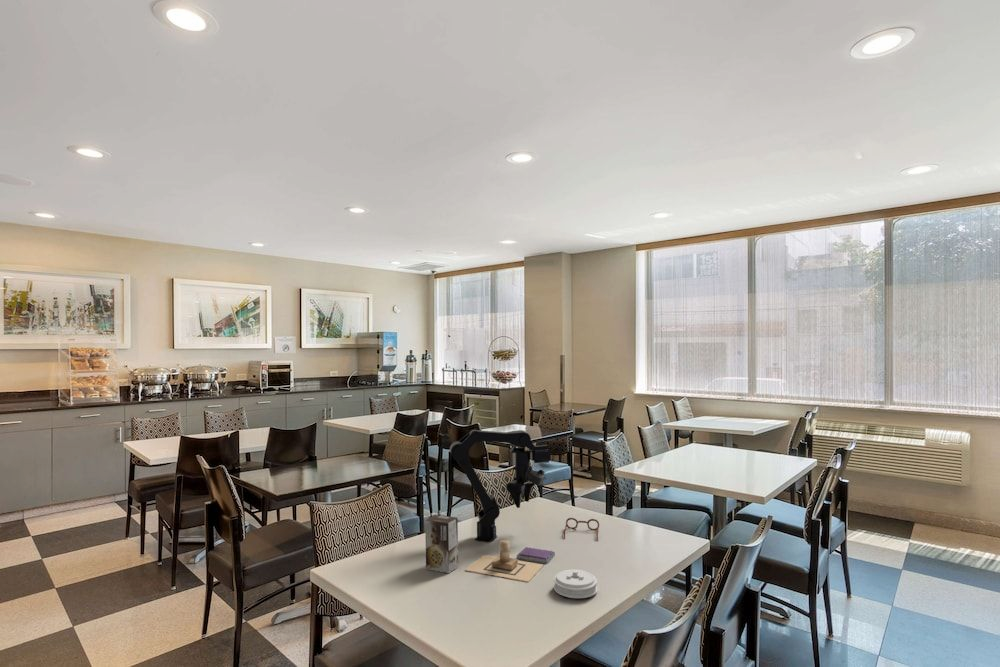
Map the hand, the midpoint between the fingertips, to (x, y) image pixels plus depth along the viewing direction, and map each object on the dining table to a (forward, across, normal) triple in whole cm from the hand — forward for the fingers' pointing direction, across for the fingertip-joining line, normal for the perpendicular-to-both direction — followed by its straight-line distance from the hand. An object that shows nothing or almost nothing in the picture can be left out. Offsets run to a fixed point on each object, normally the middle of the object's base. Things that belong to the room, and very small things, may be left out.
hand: (522, 504), depth 205 cm
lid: (+12, -38, -32) cm, 51 cm away
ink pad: (+12, -18, -12) cm, 25 cm away
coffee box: (+12, -39, +13) cm, 43 cm away
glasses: (+13, +10, -20) cm, 26 cm away
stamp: (+12, -31, -6) cm, 34 cm away
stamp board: (+12, -31, -6) cm, 34 cm away
